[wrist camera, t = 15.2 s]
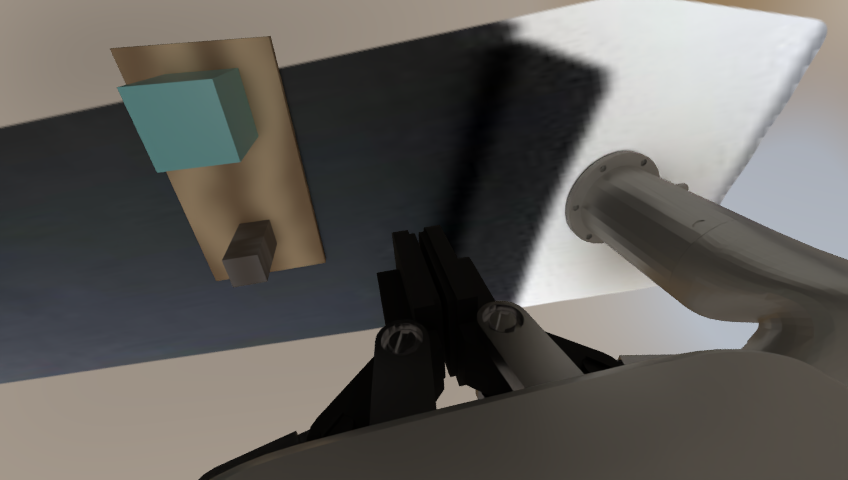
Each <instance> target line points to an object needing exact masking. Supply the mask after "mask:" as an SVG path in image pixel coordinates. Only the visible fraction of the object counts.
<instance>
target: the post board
mask: <svg viewBox="0 0 848 480" xmlns="http://www.w3.org/2000/svg"><path fill="white" fill-rule="evenodd" d="M110 50H111V52H112V54H113V56H114V59H115V61H116V63H117V65H118V68H119V70H120V72H121V74H122V76H123V78H124V80H125V83H126V85H127V84H131V83H135V82H138V81H142V80H146V79H149V78H153V77H156V76H160V75H164V74H173V73H185V72H196V71H208V70H219V69H231V68H238V69H239V73H240V76H241V79H242V83H243V86H244V89H245V93H246V96H247V99H248V103H249V106H250V109H251V113H252V116H253V119H254V123H255V126H256V129H257V132H258V138H257V139H256V141H255V142H254V144H253V145H252V146H251V148H250V149H249V151H248V152H247V154H246V155H245V156H244V158H243V159H242V161H241V162H238V163H230V164H222V165H214V166H206V167H198V168H190V169H181V170H173V171H166V172H167V175H168V177H169V179H170V181H171V183H172V185H173V188H174V190H175V192H176V194H177V196H178V199H179V201H180V203H181V205H182V207H183V209H184V212H185V214H186V216H187V218H188V220H189V223H190V225H191V227H192V229H193V231H194V233H195V236H196V238H197V240H198V242H199V244H200V247H201V249H202V251H203V253H204V255H205V257H206V260H207V262H208V264H209V266H210V268H211V271H212V273H213V275H214V277H215V279H216V281H219V280H225V279H230V281H231V283H232V286H233V287H238V286H244V285H250V284H256V283H261V282H267V280H268V277H269V273H270V272H273V271H279V270H285V269H291V268H297V267H303V266H309V265H314V264H320V263H325V262H326V257H325V253H324V249H323V245H322V241H321V237H320V233H319V229H318V225H317V221H316V217H315V213H314V209H313V205H312V201H311V197H310V193H309V189H308V185H307V181H306V177H305V173H304V169H303V165H302V161H301V157H300V153H299V149H298V145H297V141H296V136H295V132H294V128H293V124H292V120H291V116H290V112H289V108H288V104H287V100H286V96H285V92H284V88H283V84H282V80H281V76H280V72H279V68H278V64H277V60H276V56H275V52H274V48H273V44H272V40H271V36H267V37H256V38H241V39H227V40H215V41H202V42H188V43H175V44H162V45H148V46H135V47H122V48H111V49H110Z"/></svg>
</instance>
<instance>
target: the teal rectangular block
mask: <svg viewBox="0 0 848 480" xmlns="http://www.w3.org/2000/svg"><path fill="white" fill-rule="evenodd" d="M117 88H118V91H119V93H120V95H121V97H122V99H123V101H124V103H125V106H126V108H127V110H128V112H129V114H130V116H131V118H132V120H133V123H134V125H135V127H136V129H137V131H138V133H139V135H140V137H141V139H142V142H143V144H144V146H145V148H146V150H147V152H148V154H149V156H150V158H151V161H152V163H153V165H154V167H155V169H156V171H157V172H165V171H173V170H181V169H190V168H198V167H206V166H214V165H222V164H230V163H238V162H241V161H242V159H243V158H244V156H245V155H246V154H247V152H248V151H249V149H250V148H251V146H252V145H253V144H254V142H255V141H256V139H257V138H258V132H257V129H256V126H255V123H254V119H253V116H252V113H251V109H250V106H249V103H248V99H247V96H246V93H245V89H244V86H243V83H242V79H241V76H240V73H239V69H238V68H231V69H219V70H208V71H196V72H185V73H173V74H164V75H160V76H156V77H153V78H149V79H146V80H142V81H138V82H135V83H131V84H127V85H124V86H121V87H117Z"/></svg>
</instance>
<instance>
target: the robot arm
mask: <svg viewBox="0 0 848 480" xmlns="http://www.w3.org/2000/svg"><path fill="white" fill-rule="evenodd" d="M566 218H567V223H568V225H569V227H570V229H571V230H572V231H573V233H574V234H575V235H577V236H578V237H579V238H580V239H582V240H584V241H586V242H590V243H606V244H607V245H608V246H610V247H611V248H612V249H613V250H615V251H616V252H617V253H618V254H620V255H621V256H622V257H624V258H625V259H626V260H627V261H629V262H630V263H631V264H632V265H634V266H635V267H636V268H637V269H639V270H640V271H641V272H642V273H644V274H645V275H646V276H647V277H649V278H650V279H651V280H652V281H654V282H655V283H656V284H657V285H659V286H660V287H661V288H662V289H664V290H665V291H666V292H668V293H669V294H670V295H671V296H673V297H674V298H675V299H676V300H678V301H679V302H680V303H681V304H683V305H684V306H685V307H687V308H688V309H690V310H691V311H693V312H695V313H697V314H699V315H701V316H704V317H707V318H710V319H715V320H721V321H730V322H752V323H759V327H758V329H757V331H756V332H755V333H754V334H753V335H752V337H751V338H750V339H749V340H748V341H747V344H746V345H745V346H744V347H743V348H742V349H715V350H704V351H695V352H689V353H683V354H676V355H623V356H622V355H620V356H619V358H618V360H615V359H614V358H613V357H611V356H609V355H607V354H605V353H603V352H600V351H597V350H595V349H592V348H589V347H586V346H583V345H581V344H578V343H575V342H572V341H570V340H567V339H564V338H561V337H559V336H556V335H553V334H550V333H547V332H545V331H544V330H543V329H542V328H541V327H540V326H539V325H538V324H537V323H536V322H535V320H534V319H533V318H532V317H531V316H530V315H529V314H528V313H527V312H526V311H525V310H524V309H523V308H522V307H520V306H519V305H517V304H515V303H512V302H508V301H495V300H494V298H493V296H492V295H491V293H490V291H489V290H488V288H487V286H486V285H485V283H484V281H483V279H482V278H481V276H480V274H479V273H478V271H477V269H476V267H475V266H474V264H473V262H472V261H471V259H470V258H469V257H464V258H457V256H456V254H455V252H454V251H453V249H452V247H451V245H450V243H449V241H448V239H447V237H446V236H445V234H444V232H443V230H442V228H441V226H440V225H437V226H430V227H424V232H419V243H418V241H417V238H416V236H415V233H412V234H409V232H408V230H405V231H399V232H393V233H392V238H393V246H394V254H395V261H396V270H390V271H384V272H379V273H377V277H378V283H379V290H380V296H381V302H382V308H383V314H384V319H385V326H384V327H383V328H382V329H381V330H380V331H379V333H378V334H377V336H376V340H375V351H374V357H373V358H372V359H371V360H370V361H369V362H368V363H367V364H366V366H365V367H364V368H363V369H362V370H361V371H360V372H359V373H358V374H357V375H356V376H355V378H354V379H353V380H352V381H351V382H350V383H349V384H348V385H347V386H346V387H345V388H344V389H343V391H342V392H341V393H340V394H339V395H338V396H337V397H336V398H335V399H334V400H333V401H332V403H331V404H330V405H329V406H328V407H327V408H326V409H325V410H324V411H323V412H322V413H321V414H320V415H319V417H318V418H317V419H316V420H315V422H314V423H313V424H312V426H311V428H310V430H308V431H305V432H303V433H301V434H299V435H298V434H297V432H296V431H295V432H292V433H290V434H288V435H286V436H284V437H281V438H279V439H277V440H275V441H272V442H270V443H268V444H266V445H264V446H261V447H259V448H257V449H255V450H253V451H251V452H248V453H246V454H244V455H242V456H239V457H237V458H235V459H233V460H230V461H228V462H226V463H224V464H221V465H220V466H217V467H215V468H213V469H212V470H210V471H209V472H207V473H205V474H204V475H203V476H202V477H201V478H200V479H199V480H848V260H847V259H844V258H841V257H838V256H836V255H833V254H830V253H827V252H825V251H822V250H819V249H816V248H814V247H812V246H809V245H807V244H805V243H802V242H800V241H798V240H795V239H792V238H790V237H788V236H786V235H783V234H781V233H779V232H776V231H774V230H772V229H770V228H768V227H765V226H763V225H761V224H759V223H757V222H755V221H752V220H750V219H748V218H746V217H744V216H742V215H739V214H737V213H735V212H733V211H731V210H729V209H727V208H724V207H722V206H720V205H718V204H716V203H714V202H711V201H709V200H707V199H705V198H703V197H701V196H698V195H696V194H694V193H692V192H690V191H688V186H687V184H685V183H681V184H673V183H670V182H668V181H666V180H664V179H662V178H660V176H659V172H658V168H657V167H656V165H655V163H654V162H653V161H652V160H651V159H650V158H649V157H647V156H645V155H643V154H640V153H637V152H634V151H621V152H616V153H613V154H610V155H607V156H605V157H603V158H602V159H600V160H598V161H597V162H595V163H594V164H593V165H591V166H590V167H589V168H588V169H587V170H586V171H585V172H584V173H583V174H582V175H581V176H580V178H579V179H578V180H577V182H576V183H575V185H574V187H573V188H572V190H571V192H570V195H569V198H568V201H567V206H566ZM445 364H446V367H447V370H448V373H449V375H450V377H453V376H456V378H457V381H458V384H459V386H463V385H468V386H470V387H472V388H474V389H476V396H477V398H478V400H474V401H471V402H466V403H462V404H457V405H453V406H449V407H445V408H441V409H436V401H437V399H438V398H439V396H440V395H441V393H442V392H443V390H444V378H445Z"/></svg>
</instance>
